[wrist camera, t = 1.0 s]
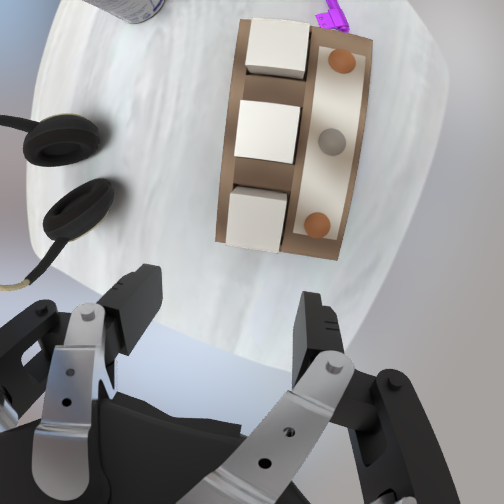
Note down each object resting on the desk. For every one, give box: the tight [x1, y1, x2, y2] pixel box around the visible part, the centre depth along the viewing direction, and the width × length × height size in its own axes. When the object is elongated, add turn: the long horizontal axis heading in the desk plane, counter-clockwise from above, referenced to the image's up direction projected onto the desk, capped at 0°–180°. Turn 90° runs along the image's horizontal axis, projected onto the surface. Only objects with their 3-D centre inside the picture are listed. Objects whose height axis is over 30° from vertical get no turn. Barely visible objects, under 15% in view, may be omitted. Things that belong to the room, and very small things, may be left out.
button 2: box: [245, 17, 310, 79], centre depth 17 cm, size 4×4×3 cm
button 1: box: [226, 186, 287, 253], centre depth 23 cm, size 4×4×3 cm
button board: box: [215, 19, 373, 261], centre depth 22 cm, size 20×11×4 cm, turn 174°
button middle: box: [234, 100, 300, 164], centre depth 20 cm, size 4×4×3 cm
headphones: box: [0, 114, 114, 291], centre depth 17 cm, size 9×15×20 cm, turn 12°
